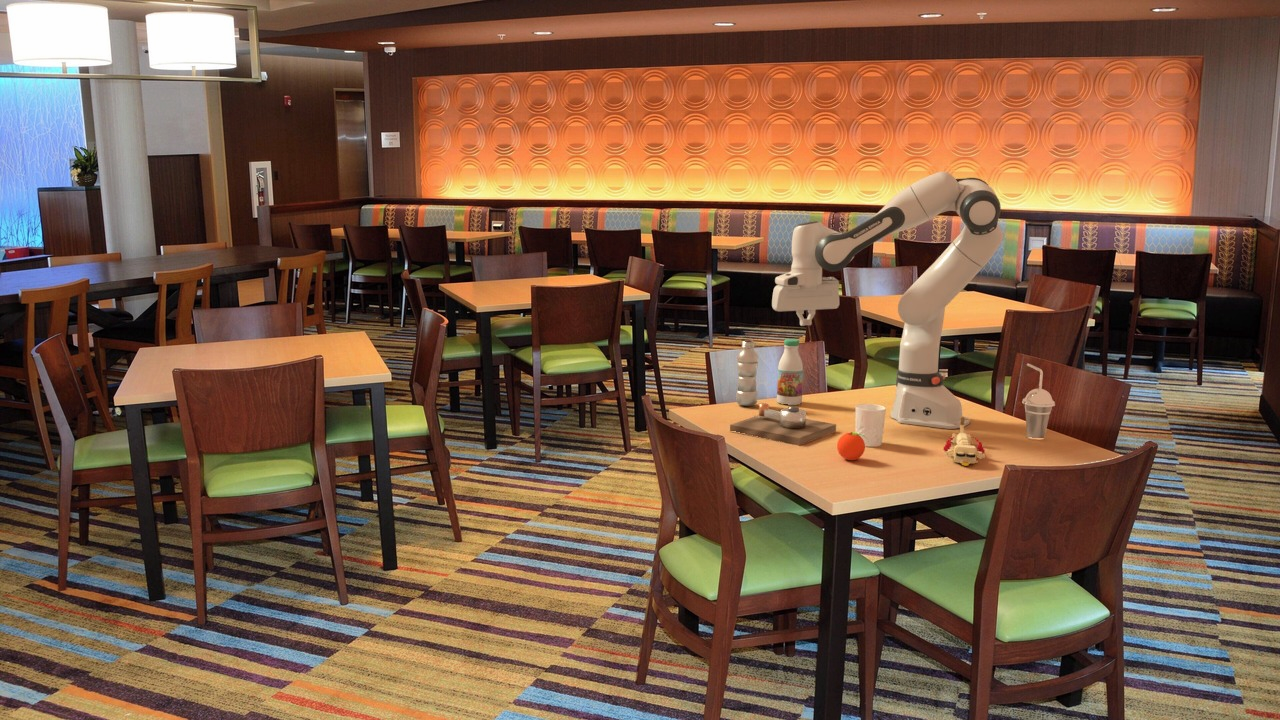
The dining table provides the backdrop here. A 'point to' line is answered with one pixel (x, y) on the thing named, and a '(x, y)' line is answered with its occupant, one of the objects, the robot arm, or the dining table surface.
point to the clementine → (851, 446)
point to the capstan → (785, 415)
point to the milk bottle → (790, 374)
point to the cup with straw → (1037, 409)
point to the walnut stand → (783, 430)
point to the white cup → (870, 423)
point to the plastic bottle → (747, 375)
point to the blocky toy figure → (964, 447)
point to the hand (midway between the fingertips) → (805, 325)
